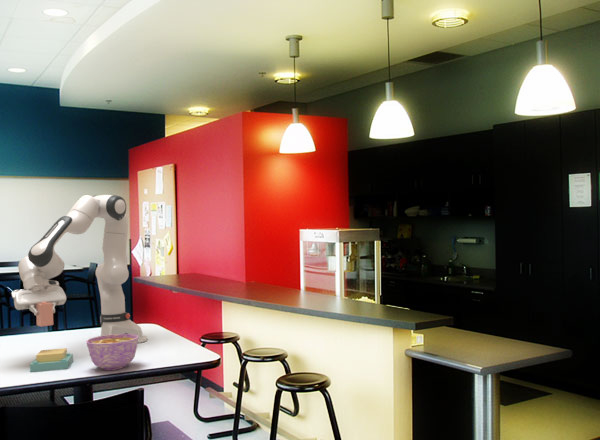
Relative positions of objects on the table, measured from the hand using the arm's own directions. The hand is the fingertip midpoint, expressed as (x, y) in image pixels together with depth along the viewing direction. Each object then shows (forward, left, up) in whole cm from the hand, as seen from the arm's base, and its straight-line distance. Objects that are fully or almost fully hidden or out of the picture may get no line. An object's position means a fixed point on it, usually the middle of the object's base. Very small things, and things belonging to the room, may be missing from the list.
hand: (45, 313), depth 246 cm
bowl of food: (-27, +15, -22) cm, 38 cm away
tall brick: (0, -1, -5) cm, 5 cm away
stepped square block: (-2, +3, -21) cm, 22 cm away
